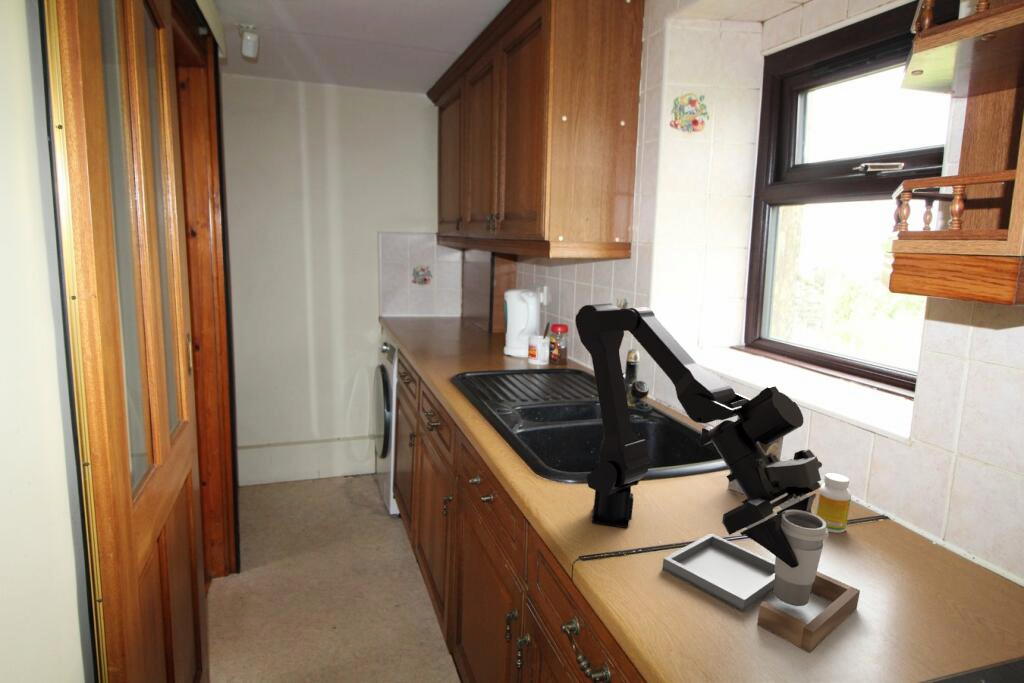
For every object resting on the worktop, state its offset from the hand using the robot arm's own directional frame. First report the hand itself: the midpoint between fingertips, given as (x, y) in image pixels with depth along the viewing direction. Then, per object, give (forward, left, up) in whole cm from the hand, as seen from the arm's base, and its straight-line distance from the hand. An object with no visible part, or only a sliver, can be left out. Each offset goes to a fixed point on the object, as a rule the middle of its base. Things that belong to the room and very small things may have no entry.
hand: (807, 558), depth 88 cm
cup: (-1, +1, -7) cm, 7 cm away
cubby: (+1, -1, -8) cm, 8 cm away
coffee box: (+2, +44, -9) cm, 45 cm away
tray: (-9, +7, -8) cm, 14 cm away
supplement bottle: (+13, +30, -9) cm, 34 cm away
